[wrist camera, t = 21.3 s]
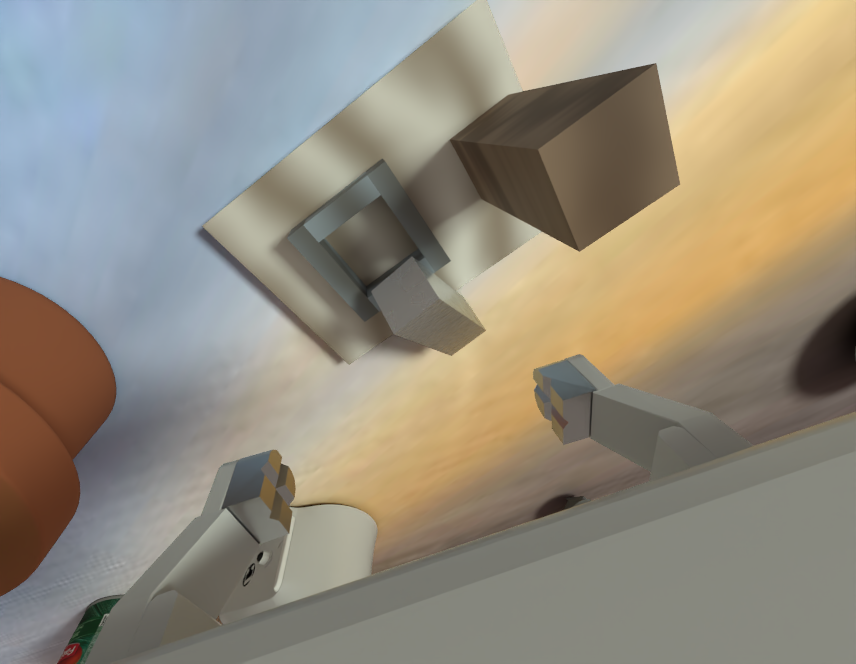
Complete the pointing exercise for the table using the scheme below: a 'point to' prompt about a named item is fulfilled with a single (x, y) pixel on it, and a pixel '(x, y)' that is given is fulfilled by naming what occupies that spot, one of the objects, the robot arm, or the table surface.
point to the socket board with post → (446, 179)
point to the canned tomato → (88, 631)
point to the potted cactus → (43, 423)
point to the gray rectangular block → (426, 309)
